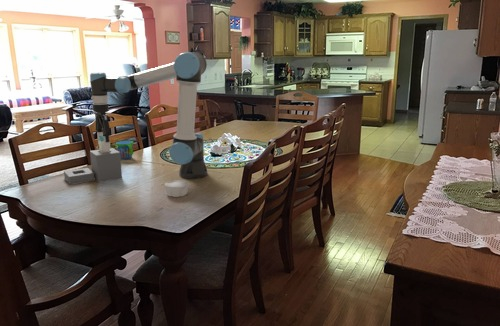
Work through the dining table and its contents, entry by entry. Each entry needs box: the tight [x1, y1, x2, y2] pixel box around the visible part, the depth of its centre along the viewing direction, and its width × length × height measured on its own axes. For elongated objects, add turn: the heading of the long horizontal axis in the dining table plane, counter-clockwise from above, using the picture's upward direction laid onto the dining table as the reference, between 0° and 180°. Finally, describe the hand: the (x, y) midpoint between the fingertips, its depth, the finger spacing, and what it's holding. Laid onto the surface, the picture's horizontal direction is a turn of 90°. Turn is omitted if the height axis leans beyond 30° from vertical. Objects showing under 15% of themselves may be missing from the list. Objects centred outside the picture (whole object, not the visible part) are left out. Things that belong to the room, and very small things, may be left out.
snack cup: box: [114, 140, 135, 160], centre depth 253 cm, size 16×10×10 cm
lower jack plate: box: [63, 167, 96, 185], centre depth 210 cm, size 12×12×4 cm
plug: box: [97, 136, 110, 153], centre depth 211 cm, size 4×4×11 cm
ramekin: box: [164, 179, 190, 198], centre depth 190 cm, size 11×11×5 cm
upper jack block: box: [89, 148, 123, 183], centre depth 213 cm, size 12×12×14 cm
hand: (104, 146), depth 211 cm, fingers open, 10 cm apart
